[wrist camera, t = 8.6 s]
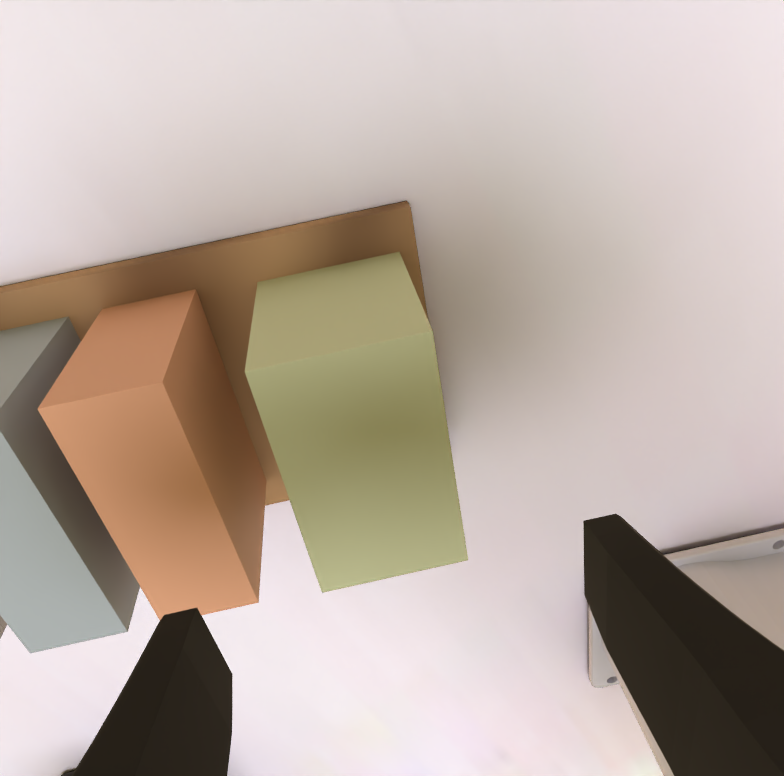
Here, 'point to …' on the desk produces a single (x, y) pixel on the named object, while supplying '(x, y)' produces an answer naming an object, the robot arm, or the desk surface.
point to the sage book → (357, 419)
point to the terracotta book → (164, 453)
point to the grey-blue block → (50, 510)
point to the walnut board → (221, 289)
